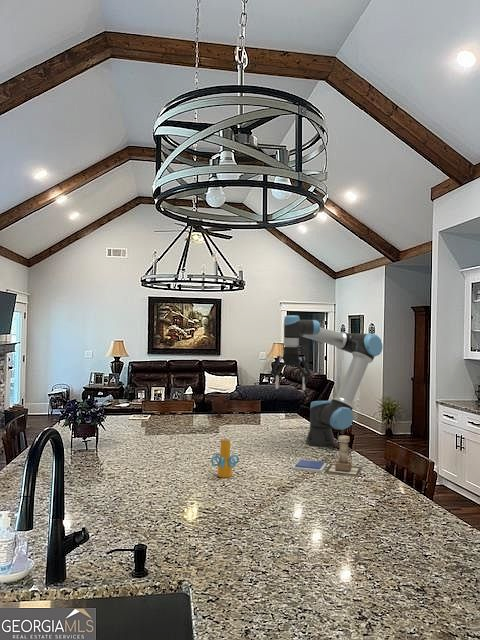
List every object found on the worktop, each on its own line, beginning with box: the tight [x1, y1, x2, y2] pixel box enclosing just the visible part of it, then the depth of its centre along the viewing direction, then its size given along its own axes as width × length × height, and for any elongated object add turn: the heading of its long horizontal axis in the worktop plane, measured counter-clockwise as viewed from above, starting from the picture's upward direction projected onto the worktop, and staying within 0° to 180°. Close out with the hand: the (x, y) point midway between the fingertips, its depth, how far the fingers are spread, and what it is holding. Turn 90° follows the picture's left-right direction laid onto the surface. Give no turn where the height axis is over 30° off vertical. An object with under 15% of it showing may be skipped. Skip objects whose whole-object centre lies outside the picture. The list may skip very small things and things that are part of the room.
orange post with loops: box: [210, 438, 240, 479], centre depth 224 cm, size 12×10×15 cm
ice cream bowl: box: [211, 395, 228, 419], centre depth 368 cm, size 11×11×15 cm
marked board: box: [324, 463, 363, 478], centre depth 235 cm, size 14×14×1 cm
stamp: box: [334, 435, 353, 472], centre depth 236 cm, size 7×6×14 cm
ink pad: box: [291, 459, 328, 473], centre depth 240 cm, size 13×13×2 cm
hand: (290, 389), depth 266 cm, fingers open, 13 cm apart
